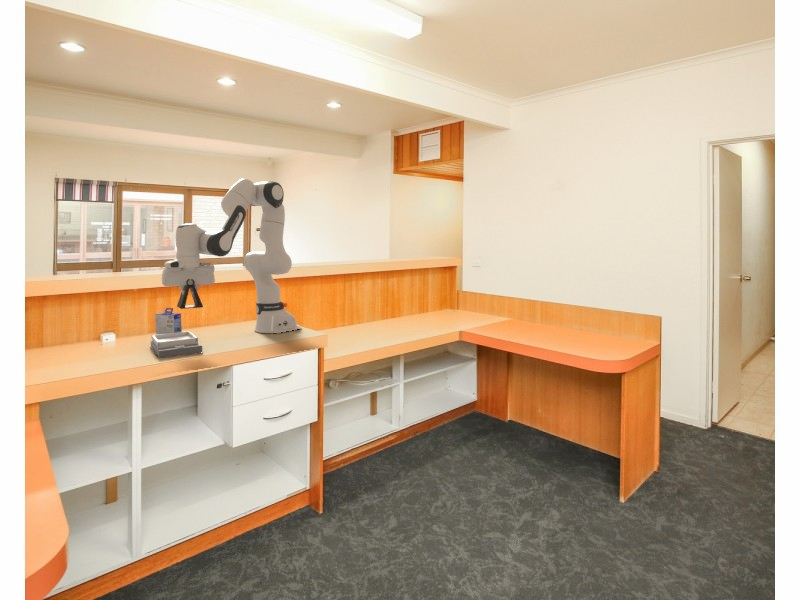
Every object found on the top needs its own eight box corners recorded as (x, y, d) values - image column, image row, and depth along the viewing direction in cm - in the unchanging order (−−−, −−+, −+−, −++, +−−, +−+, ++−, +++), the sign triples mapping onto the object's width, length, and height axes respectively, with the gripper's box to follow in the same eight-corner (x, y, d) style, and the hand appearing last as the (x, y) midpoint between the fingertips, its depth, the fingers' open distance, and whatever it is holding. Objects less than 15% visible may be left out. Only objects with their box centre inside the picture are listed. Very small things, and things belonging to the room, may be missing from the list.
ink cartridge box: (183, 339, 222) (181, 308, 220) (175, 342, 217) (173, 310, 215) (163, 338, 224) (161, 307, 222) (155, 341, 219) (153, 309, 217)
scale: (191, 342, 217) (190, 330, 216) (202, 352, 200) (201, 339, 200) (150, 347, 207) (150, 335, 207) (159, 358, 191) (158, 344, 190)
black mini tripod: (180, 308, 200) (178, 279, 199) (176, 306, 205) (175, 278, 204) (203, 307, 206) (202, 278, 204) (199, 305, 210) (198, 277, 209)
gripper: (212, 262, 211) (213, 293, 213) (160, 262, 200) (161, 296, 201) (216, 262, 206) (217, 295, 208) (163, 263, 195) (164, 298, 196)
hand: (189, 296), depth 205 cm, fingers closed on black mini tripod, 2 cm apart
